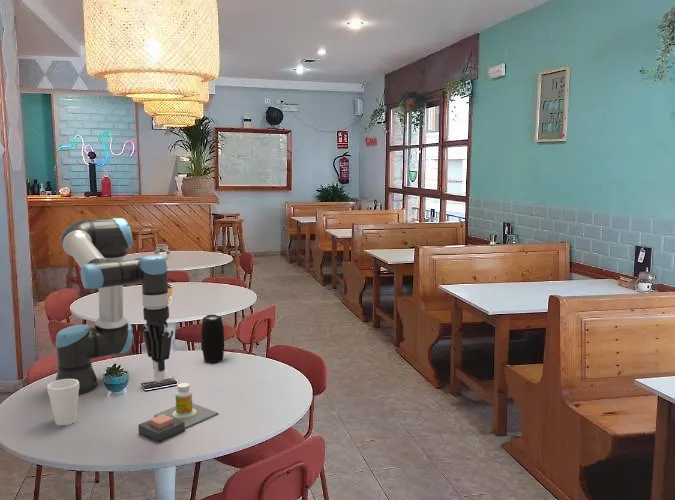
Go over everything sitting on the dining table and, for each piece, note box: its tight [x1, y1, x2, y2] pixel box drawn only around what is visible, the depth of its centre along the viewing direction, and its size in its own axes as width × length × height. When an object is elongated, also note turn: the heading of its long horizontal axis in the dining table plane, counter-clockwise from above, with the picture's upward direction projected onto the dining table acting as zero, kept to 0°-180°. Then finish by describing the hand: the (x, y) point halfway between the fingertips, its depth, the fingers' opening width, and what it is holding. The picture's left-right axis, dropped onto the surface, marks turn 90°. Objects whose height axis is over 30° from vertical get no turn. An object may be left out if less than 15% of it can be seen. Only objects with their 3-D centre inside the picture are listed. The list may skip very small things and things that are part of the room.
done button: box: [148, 414, 174, 429], centre depth 191 cm, size 5×5×2 cm
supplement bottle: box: [175, 382, 193, 415], centre depth 204 cm, size 5×5×10 cm
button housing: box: [137, 414, 186, 444], centre depth 191 cm, size 10×10×3 cm
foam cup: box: [46, 379, 79, 426], centre depth 198 cm, size 10×9×13 cm
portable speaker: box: [200, 314, 225, 365], centre depth 257 cm, size 9×9×20 cm
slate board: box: [154, 402, 219, 430], centre depth 204 cm, size 16×14×1 cm
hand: (159, 380), depth 189 cm, fingers closed
